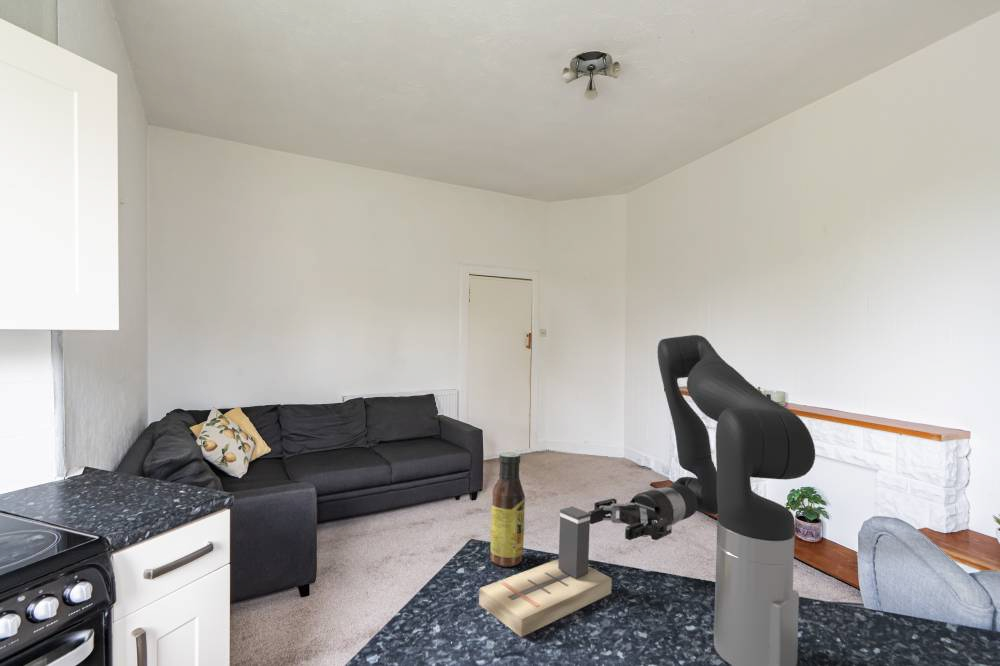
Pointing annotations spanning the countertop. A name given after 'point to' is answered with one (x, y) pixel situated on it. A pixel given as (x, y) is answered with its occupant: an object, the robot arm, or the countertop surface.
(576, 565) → the fader cap
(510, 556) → the sauce bottle
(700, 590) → the countertop surface
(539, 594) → the fader console
